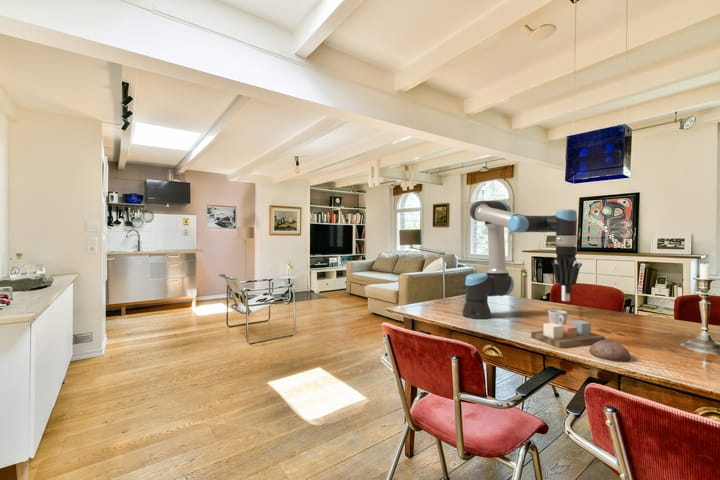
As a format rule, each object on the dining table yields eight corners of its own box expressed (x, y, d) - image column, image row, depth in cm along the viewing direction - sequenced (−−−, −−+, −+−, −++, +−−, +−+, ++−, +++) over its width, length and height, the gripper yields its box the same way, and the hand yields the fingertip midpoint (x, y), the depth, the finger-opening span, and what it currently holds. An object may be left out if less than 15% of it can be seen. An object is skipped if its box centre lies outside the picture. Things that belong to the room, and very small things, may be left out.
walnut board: (531, 337, 140) (531, 332, 140) (573, 332, 147) (574, 327, 147) (559, 348, 127) (559, 342, 127) (604, 342, 133) (604, 336, 133)
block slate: (570, 332, 140) (570, 321, 140) (579, 331, 142) (579, 320, 142) (581, 335, 136) (581, 324, 136) (590, 334, 137) (590, 323, 137)
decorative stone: (581, 352, 123) (581, 338, 123) (606, 349, 126) (605, 335, 126) (613, 364, 111) (612, 348, 111) (638, 360, 114) (638, 345, 114)
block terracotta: (557, 336, 138) (557, 325, 138) (566, 335, 140) (566, 324, 140) (567, 340, 134) (567, 328, 134) (577, 339, 135) (577, 327, 135)
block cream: (543, 335, 136) (543, 323, 136) (552, 334, 138) (552, 322, 138) (553, 339, 132) (553, 326, 132) (563, 337, 133) (563, 325, 133)
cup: (573, 332, 147) (573, 315, 147) (554, 331, 149) (554, 314, 149) (563, 326, 158) (563, 309, 158) (545, 325, 159) (545, 309, 159)
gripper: (546, 245, 142) (546, 298, 143) (573, 246, 130) (572, 304, 130) (559, 245, 144) (559, 297, 145) (587, 246, 132) (586, 303, 132)
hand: (565, 300), depth 137 cm, fingers closed
